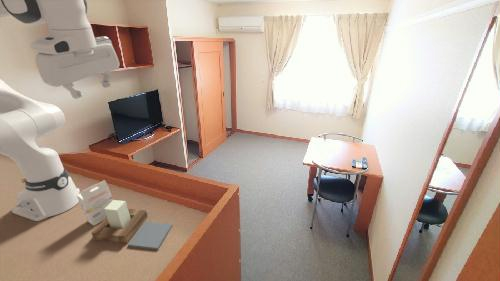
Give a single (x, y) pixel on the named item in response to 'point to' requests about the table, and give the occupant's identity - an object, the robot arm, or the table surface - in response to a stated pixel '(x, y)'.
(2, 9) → the robot arm
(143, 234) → the slate rubber pad
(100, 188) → the ink cartridge box
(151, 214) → the table surface
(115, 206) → the sage block
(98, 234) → the walnut puzzle board
